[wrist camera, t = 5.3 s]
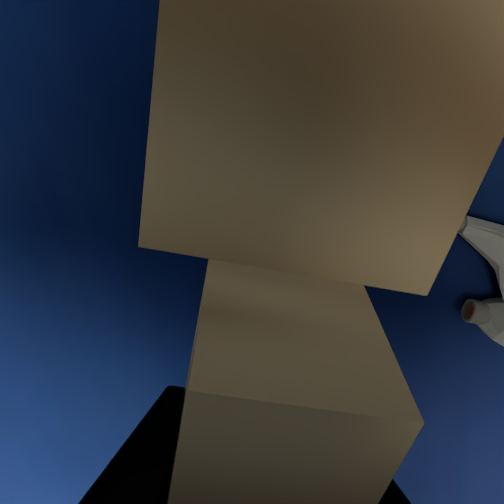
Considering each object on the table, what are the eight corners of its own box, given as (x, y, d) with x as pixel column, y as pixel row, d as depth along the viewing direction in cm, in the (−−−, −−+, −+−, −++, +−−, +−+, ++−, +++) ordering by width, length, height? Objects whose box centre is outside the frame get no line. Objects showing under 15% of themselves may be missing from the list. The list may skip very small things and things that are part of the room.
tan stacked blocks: (321, 478, 12) (352, 661, 9) (125, 454, 12) (73, 640, 8) (606, -158, 6) (1152, -426, 2) (196, -284, 5) (93, -903, 2)
